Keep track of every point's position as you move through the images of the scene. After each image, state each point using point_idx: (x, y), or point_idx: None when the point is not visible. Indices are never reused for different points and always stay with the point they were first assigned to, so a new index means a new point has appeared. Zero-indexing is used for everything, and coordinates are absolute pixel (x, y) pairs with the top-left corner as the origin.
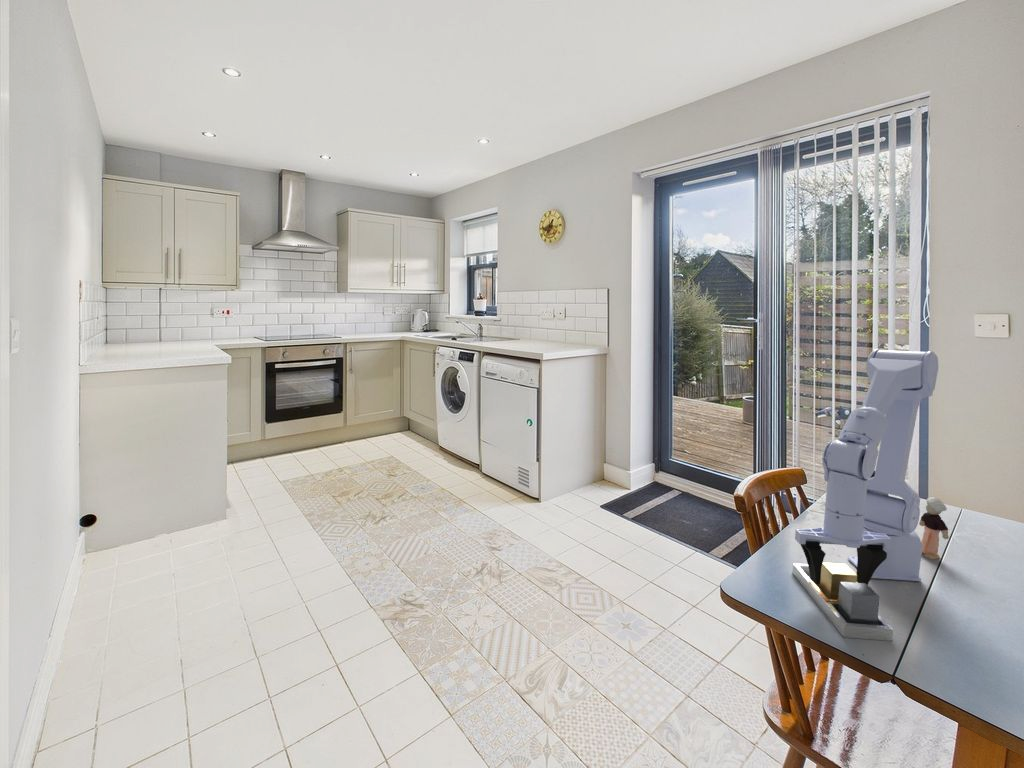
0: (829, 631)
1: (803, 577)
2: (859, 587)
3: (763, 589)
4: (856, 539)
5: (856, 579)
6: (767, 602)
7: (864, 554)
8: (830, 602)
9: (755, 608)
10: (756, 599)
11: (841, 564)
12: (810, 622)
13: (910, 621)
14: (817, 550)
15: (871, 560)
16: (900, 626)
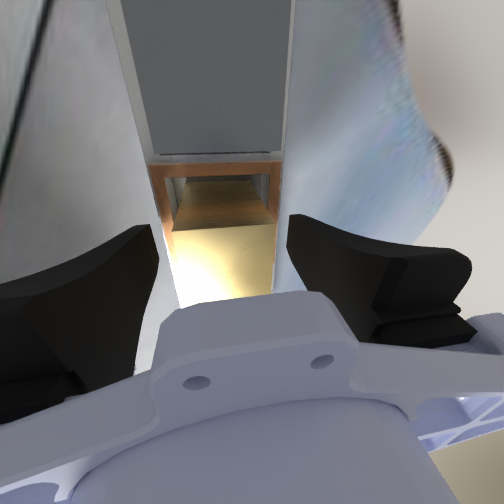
0: (309, 34)
1: (273, 278)
2: (205, 95)
3: (360, 234)
4: (177, 462)
5: (176, 221)
6: (387, 180)
7: (106, 336)
8: (268, 158)
9: (434, 145)
10: (403, 189)
11: (204, 299)
12: (338, 89)
13: (25, 145)
14: (429, 277)
15: (73, 280)
16: (63, 106)
